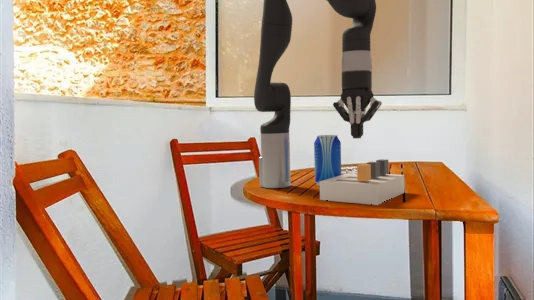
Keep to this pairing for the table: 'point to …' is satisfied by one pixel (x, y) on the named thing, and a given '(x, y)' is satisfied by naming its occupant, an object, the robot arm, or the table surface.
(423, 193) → the table surface
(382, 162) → the block
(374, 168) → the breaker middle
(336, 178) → the breaker panel
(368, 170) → the block
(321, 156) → the beer can
